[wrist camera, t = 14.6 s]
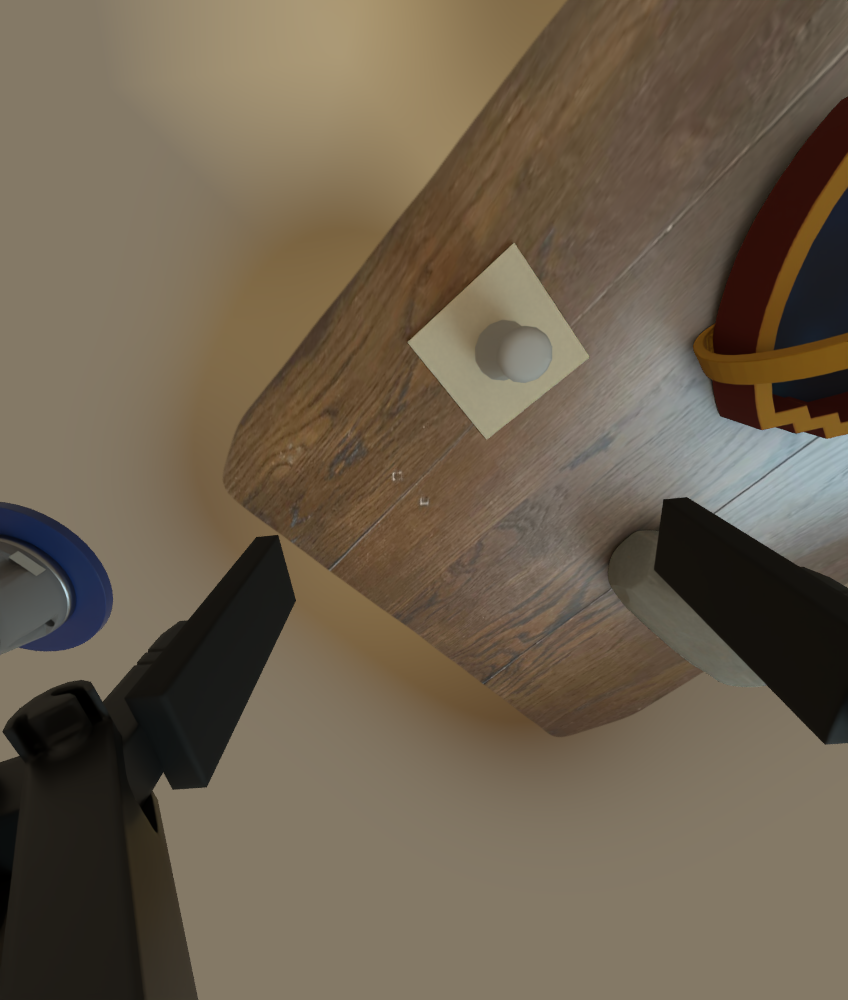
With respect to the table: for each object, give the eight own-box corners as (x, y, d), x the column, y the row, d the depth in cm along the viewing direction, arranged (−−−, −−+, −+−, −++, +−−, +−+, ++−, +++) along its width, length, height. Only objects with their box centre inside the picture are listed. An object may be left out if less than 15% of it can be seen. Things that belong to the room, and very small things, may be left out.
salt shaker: (495, 389, 44) (521, 409, 32) (461, 350, 43) (474, 356, 31) (537, 350, 43) (580, 356, 31) (503, 307, 41) (534, 297, 29)
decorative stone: (648, 502, 50) (733, 567, 36) (738, 568, 54) (847, 650, 40) (582, 570, 54) (636, 652, 40) (670, 627, 58) (748, 720, 44)
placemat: (486, 439, 47) (486, 439, 47) (407, 342, 43) (407, 342, 43) (588, 357, 44) (589, 357, 43) (513, 243, 39) (514, 242, 39)
